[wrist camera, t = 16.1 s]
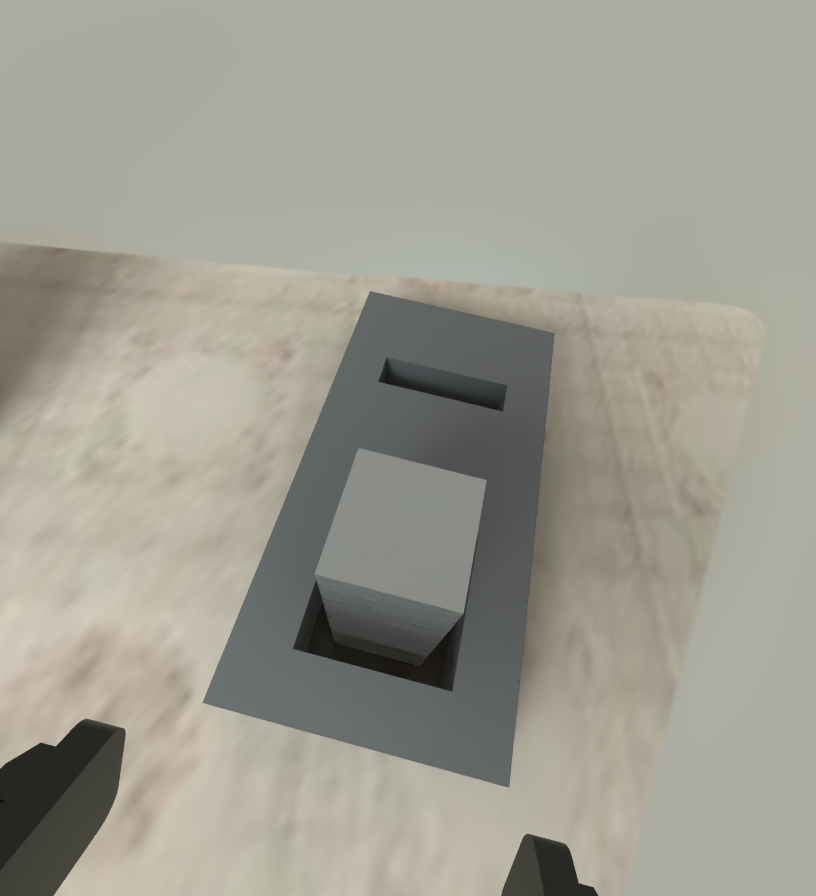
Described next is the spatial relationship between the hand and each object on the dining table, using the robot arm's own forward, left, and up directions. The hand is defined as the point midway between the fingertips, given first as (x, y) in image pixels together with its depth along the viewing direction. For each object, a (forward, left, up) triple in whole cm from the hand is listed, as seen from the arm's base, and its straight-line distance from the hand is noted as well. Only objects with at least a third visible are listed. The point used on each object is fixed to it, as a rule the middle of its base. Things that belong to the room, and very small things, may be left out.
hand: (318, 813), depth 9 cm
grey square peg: (-3, +5, -10) cm, 11 cm away
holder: (-6, +9, -10) cm, 15 cm away
